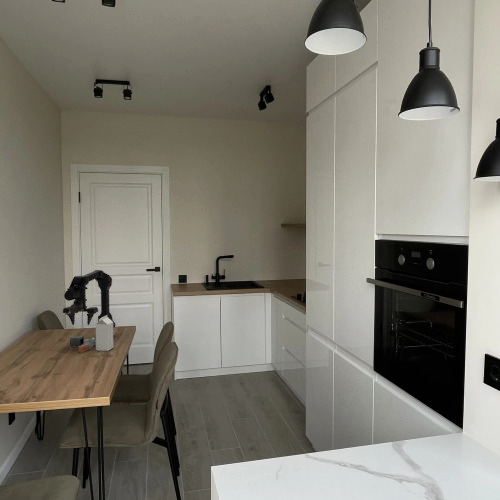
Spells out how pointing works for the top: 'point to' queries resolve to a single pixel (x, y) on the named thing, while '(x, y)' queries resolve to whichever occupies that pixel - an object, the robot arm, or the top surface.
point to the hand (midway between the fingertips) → (80, 324)
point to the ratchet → (87, 344)
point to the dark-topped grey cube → (77, 341)
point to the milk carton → (104, 334)
